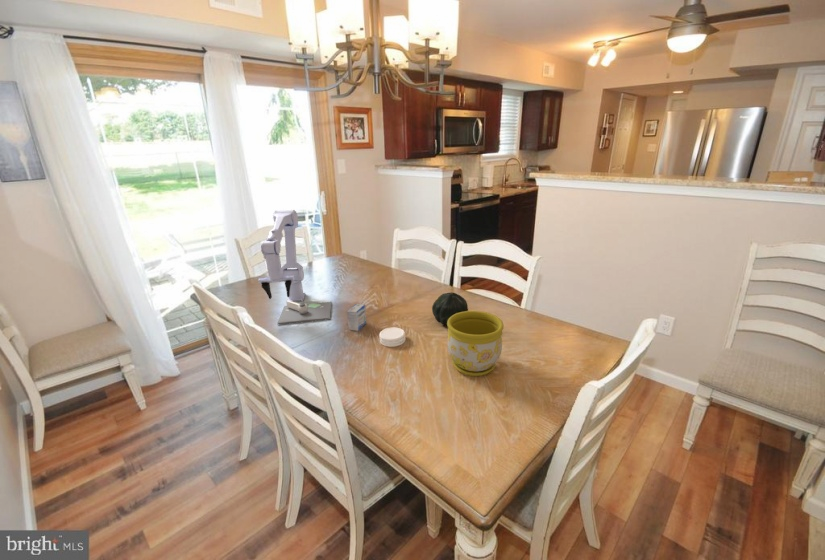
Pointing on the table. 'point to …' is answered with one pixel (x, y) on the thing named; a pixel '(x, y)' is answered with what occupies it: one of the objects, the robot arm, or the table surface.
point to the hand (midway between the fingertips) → (279, 297)
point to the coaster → (392, 337)
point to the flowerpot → (474, 341)
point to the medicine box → (356, 317)
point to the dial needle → (297, 307)
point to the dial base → (314, 313)
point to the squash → (448, 306)
